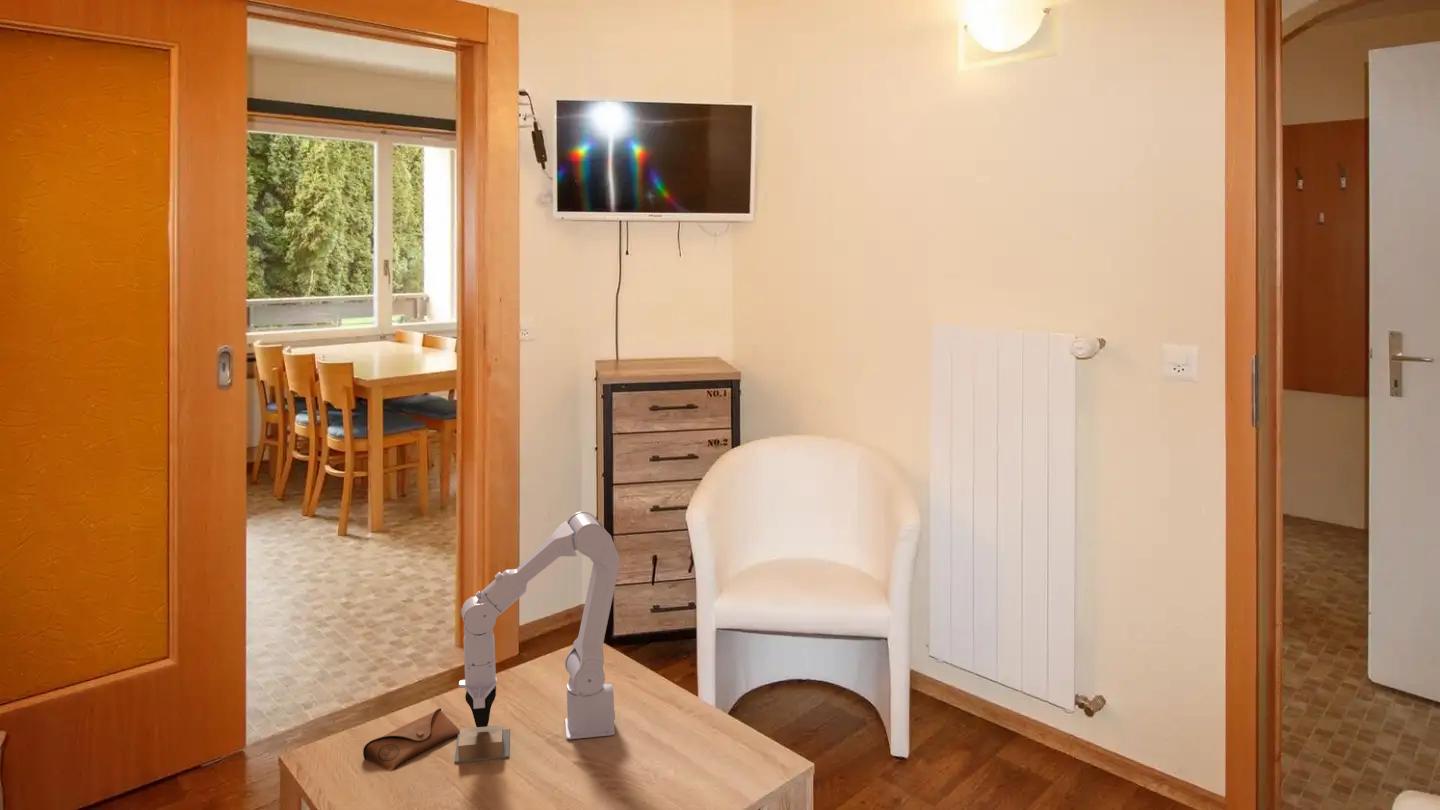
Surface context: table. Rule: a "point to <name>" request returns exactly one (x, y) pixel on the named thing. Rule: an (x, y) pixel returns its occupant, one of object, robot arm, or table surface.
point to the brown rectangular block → (480, 742)
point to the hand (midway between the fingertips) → (482, 725)
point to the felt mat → (504, 755)
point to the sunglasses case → (410, 740)
